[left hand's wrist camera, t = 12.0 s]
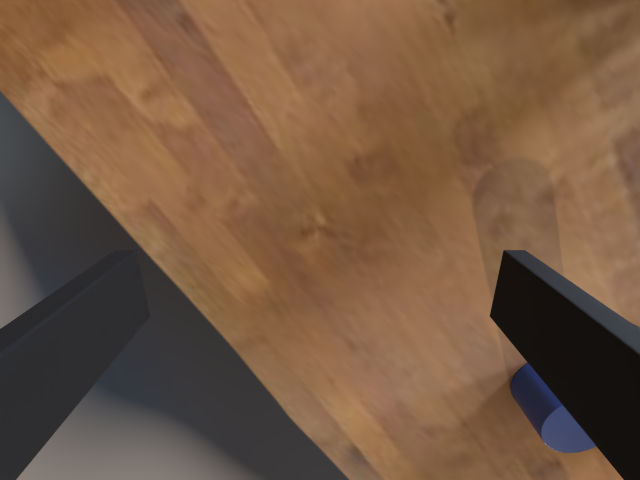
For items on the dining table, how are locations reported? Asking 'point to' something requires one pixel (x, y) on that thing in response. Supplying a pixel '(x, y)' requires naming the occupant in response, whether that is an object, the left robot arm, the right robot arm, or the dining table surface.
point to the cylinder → (548, 413)
